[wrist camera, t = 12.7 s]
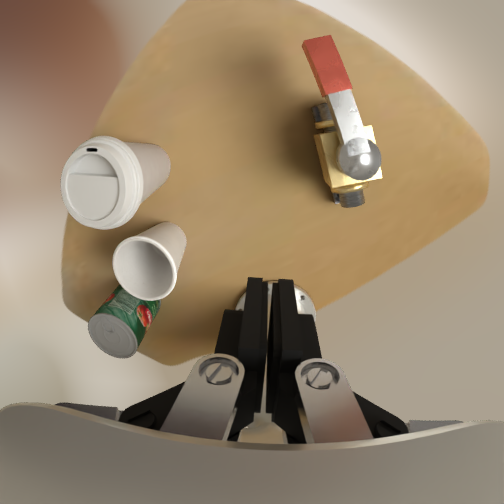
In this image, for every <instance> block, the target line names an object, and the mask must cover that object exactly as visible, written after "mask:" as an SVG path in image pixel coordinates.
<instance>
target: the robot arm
mask: <svg viewBox="0 0 504 504" xmlns="http://www.w3.org/2000/svg"><path fill="white" fill-rule="evenodd" d="M262 279H263V278H253V277H248V282H247V289H246V292H245V293H244V294H243V295H242V296H241V298H240V299H239V301H238V303H237V305H236V310H226V309H225V311H224V314H223V318H222V323H221V327H220V331H219V335H218V340H217V344H216V348H215V353H214V354H210V355H207V356H204V357H202V358H201V359H199V360H198V361H197V362H196V364H195V365H194V367H193V369H192V370H191V372H190V374H189V376H188V378H187V380H186V381H185V382H183V383H181V384H179V385H177V386H175V387H173V388H170V389H168V390H166V391H164V392H162V393H159V394H157V395H155V396H153V397H150V398H148V399H146V400H144V401H141V402H139V403H137V404H134V405H132V406H130V407H129V408H127V409H125V410H124V411H119V410H118V408H117V407H106V406H93V405H83V404H73V403H58V404H55V405H51V404H45V403H28V402H26V403H25V402H24V403H15V404H10V405H8V406H5V407H3V408H2V409H1V410H0V504H504V422H502V421H491V420H484V421H472V422H462V421H456V420H455V421H420V420H409V422H408V423H404V422H403V421H402V420H400V419H399V418H398V417H396V416H394V415H393V414H391V413H389V412H387V411H386V410H384V409H382V408H380V407H379V406H377V405H375V404H373V403H371V402H370V401H368V400H366V399H365V398H363V397H361V396H359V395H358V394H356V393H355V392H353V391H352V389H351V387H350V385H349V383H348V380H347V378H346V376H345V374H344V372H343V370H342V369H341V368H340V367H339V366H338V365H337V364H335V363H334V362H332V361H329V360H326V359H322V357H321V351H320V346H319V341H318V336H317V332H316V327H315V319H316V312H315V307H314V304H313V301H312V299H311V298H310V296H309V295H308V294H307V293H306V292H305V291H304V290H303V289H302V288H300V287H298V286H296V285H294V282H293V280H288V279H278V281H269V282H262ZM246 426H247V427H248V428H244V427H246Z"/></svg>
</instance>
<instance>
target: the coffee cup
mask: <svg viewBox="0 0 504 504" xmlns="http://www.w3.org/2000/svg"><path fill="white" fill-rule="evenodd" d="M170 168H171V165H170V160H169V157H168V155H167V153H166V152H165V151H164V150H163V149H162V148H161V147H159V146H157V145H154V144H146V143H133V142H122V141H120V140H118V139H116V138H114V137H110V136H98V137H94V138H91V139H89V140H87V141H85V142H84V143H82V144H81V145H80V146H79V147H78V148H77V149H76V150H75V151H74V152H73V153H72V155H71V156H70V157H69V159H68V160H67V162H66V164H65V166H64V168H63V171H62V175H61V194H62V198H63V201H64V204H65V206H66V208H67V210H68V212H69V213H70V214H71V216H72V217H73V218H74V219H75V220H77V221H78V222H79V223H81V224H83V225H85V226H88V227H92V228H95V229H102V230H106V229H113V228H117V227H120V226H122V225H123V224H125V223H126V222H128V221H129V220H130V219H131V218H132V217H133V215H134V214H135V213H136V211H137V209H138V207H139V205H140V204H141V203H142V202H143V201H144V200H145V199H146V198H148V197H149V196H150V195H151V194H152V193H153V192H154V191H156V190H157V189H158V188H159V187H160V186H162V185H163V184H164V183H165V182H166V180H167V179H168V176H169V174H170Z"/></svg>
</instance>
